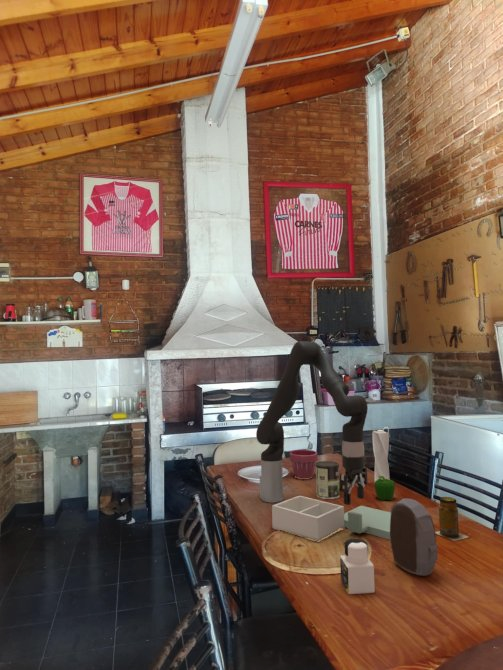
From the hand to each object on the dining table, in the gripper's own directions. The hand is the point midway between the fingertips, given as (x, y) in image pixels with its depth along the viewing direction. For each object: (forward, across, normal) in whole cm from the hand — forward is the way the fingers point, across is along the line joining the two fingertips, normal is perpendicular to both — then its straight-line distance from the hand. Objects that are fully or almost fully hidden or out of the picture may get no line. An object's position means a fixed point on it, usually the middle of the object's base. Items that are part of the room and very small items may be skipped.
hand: (354, 501), depth 158 cm
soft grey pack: (+11, +10, +26) cm, 31 cm away
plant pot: (+13, -49, -60) cm, 79 cm away
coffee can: (+12, -32, -33) cm, 47 cm away
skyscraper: (+12, -58, -21) cm, 63 cm away
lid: (+12, -11, 0) cm, 16 cm away
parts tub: (+12, +6, -16) cm, 20 cm away
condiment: (+12, -22, +24) cm, 34 cm away
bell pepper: (+12, -44, -12) cm, 47 cm away
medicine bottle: (+11, +30, +19) cm, 38 cm away
